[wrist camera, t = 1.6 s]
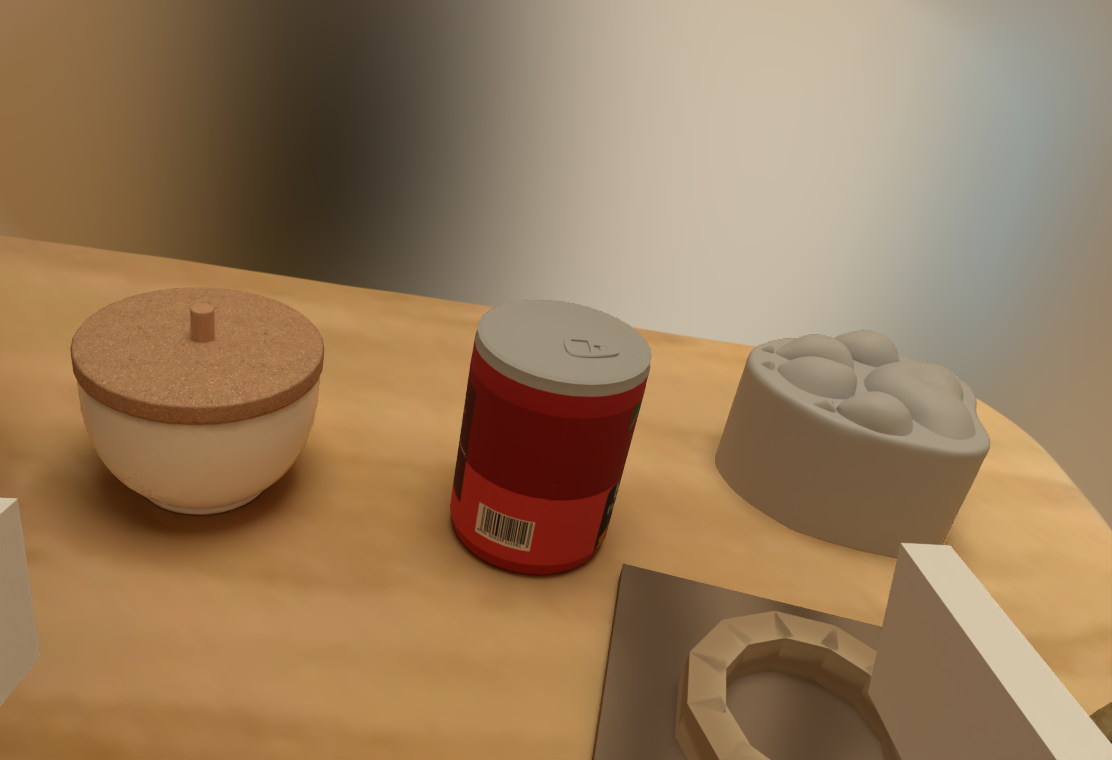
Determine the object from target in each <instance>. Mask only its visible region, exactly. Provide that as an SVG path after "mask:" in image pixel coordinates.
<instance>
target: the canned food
mask: <svg viewBox="0 0 1112 760" xmlns="http://www.w3.org/2000/svg"><path fill="white" fill-rule="evenodd" d="M651 357H652V356H651V349H650V347H649V345H648V343H647V341H646V340H645V339H644V338H643V337H642V336H641V335H640V333H639V332H637V331H636V330H635V329H633V328H632V327H631V326H630V325H628V324H626V323H624V322H623V321H621V320H619V319H618V318H615V317H613V316H611V315H609V314H607V313H604V312H602V311H599V310H595V309H593V308H590V307H586V306H582V305H578V304H574V303H567V302H562V301H552V300H525V301H516V302H511V303H507V304H503V305H500V306H498V307H495V308H493V309H491V310H490V311H488V312H487V313H486V314H484V315H483V317H482V318H481V320H480V321H479V325H478V329H477V331H476V335H475V340H474V347H473V353H472V358H471V364H470V371H469V378H468V385H467V392H466V399H465V406H464V413H463V420H462V427H461V434H460V441H459V448H458V455H457V462H456V469H455V476H454V483H453V490H452V497H451V504H450V508H451V515H452V520H453V524H454V528H455V531H456V533H457V535H458V537H459V539H460V540H461V541H462V543H463V544H464V545H465V546H466V547H467V548H468V549H469V550H470V551H471V552H472V553H474V554H475V555H476V556H478V557H479V558H481V559H483V560H484V561H486V562H488V563H490V564H492V565H495V566H497V567H499V568H502V569H506V570H509V571H513V572H517V573H524V574H531V575H548V574H555V573H561V572H565V571H568V570H571V569H574V568H576V567H578V566H580V565H582V564H584V563H585V562H586V561H587V560H588V559H590V558H591V557H592V556H593V554H594V553H595V552H596V550H597V549H598V547H599V546H600V545H601V543H602V542H603V540H604V539H605V536H606V533H607V529H608V525H609V522H610V518H611V514H612V510H613V507H614V503H615V499H616V496H617V492H618V488H619V484H620V481H621V477H622V473H623V470H624V466H625V462H626V458H627V455H628V451H629V447H630V444H631V440H632V436H633V432H634V429H635V425H636V421H637V417H638V414H639V410H640V406H641V403H642V399H643V395H644V391H645V387H646V382H647V378H648V374H649V371H650V361H651Z"/></svg>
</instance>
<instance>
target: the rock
mask: <svg viewBox="0 0 1112 760" xmlns="http://www.w3.org/2000/svg"><path fill="white" fill-rule="evenodd" d="M1089 717H1090V718H1091V719H1092V721H1093V722H1094V723H1095V724H1096V725H1097V727H1098V728H1099V729H1100V730H1101V732H1102V733H1103V734H1104V735H1105V737H1106V738H1107V739H1108V740H1109V741H1112V702H1111V703H1109V704H1108V705H1106V706H1105V707H1103V708H1101V709H1099V710H1097V711H1096V712H1095V713H1093V714H1092V715H1091V716H1089Z"/></svg>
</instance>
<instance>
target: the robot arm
mask: <svg viewBox="0 0 1112 760" xmlns="http://www.w3.org/2000/svg"><path fill="white" fill-rule="evenodd" d="M39 658H40V650H39V643H38V636H37V629H36V622H35V615H34V608H33V601H32V594H31V587H30V580H29V573H28V566H27V560H26V553H25V546H24V539H23V532H22V525H21V518H20V511H19V504H18V499H16V498H0V707H1V705H2V704H3V703H4V702H5V700H6V699H7V698H8V697H9V695H10V694H11V693H12V692H13V690H14V689H15V688H16V687H17V685H18V684H19V683H20V682H21V680H22V679H23V678H24V677H25V675H26V674H27V673H28V672H29V670H30V669H31V668H32V667H33V665H34V664H35V663H36V661H37V660H38V659H39ZM868 694H869V696H870V698H871V700H872V702H873V704H874V705H875V707H876V709H877V711H878V713H879V715H880V717H881V719H882V721H883V723H884V725H885V727H886V729H887V731H888V733H889V735H890V737H891V739H892V741H893V743H894V745H895V747H896V749H897V751H898V753H899V755H900V757H901V759H902V760H1112V741H1109V740H1108V739H1107V738H1106V737H1105V735H1104V734H1103V733H1102V732H1101V730H1100V729H1099V728H1098V727H1097V725H1096V724H1095V723H1094V722H1093V721H1092V719H1091V718H1090V717H1089V716H1088V714H1087V713H1086V712H1085V711H1084V709H1083V708H1082V707H1081V706H1080V705H1079V703H1078V702H1077V701H1076V700H1075V698H1074V697H1073V696H1072V695H1071V693H1070V692H1069V691H1068V690H1067V689H1066V687H1065V686H1064V685H1063V684H1062V682H1061V681H1060V680H1059V679H1058V677H1057V676H1056V675H1055V674H1054V673H1053V671H1052V670H1051V669H1050V668H1049V666H1048V665H1047V664H1046V663H1045V661H1044V660H1043V659H1042V658H1041V657H1040V655H1039V654H1038V653H1037V652H1036V650H1035V649H1034V648H1033V647H1032V645H1031V644H1030V643H1029V642H1028V641H1027V639H1026V638H1025V637H1024V636H1023V634H1022V633H1021V632H1020V631H1019V629H1018V628H1017V627H1016V626H1015V625H1014V623H1013V622H1012V621H1011V620H1010V618H1009V617H1008V616H1007V615H1006V613H1005V612H1004V611H1003V610H1002V609H1001V607H1000V606H999V605H998V604H997V602H996V601H995V600H994V599H993V597H992V596H991V595H990V594H989V593H988V591H987V590H986V589H985V588H984V586H983V585H982V584H981V583H980V581H979V580H978V579H977V578H976V577H975V575H974V574H973V573H972V572H971V570H970V569H969V568H968V567H967V565H966V564H965V563H964V562H963V561H962V559H961V558H960V557H959V556H958V554H957V553H956V552H955V551H954V549H953V548H952V547H951V546H950V545H932V544H912V543H901V544H900V549H899V553H898V558H897V562H896V567H895V572H894V576H893V581H892V585H891V590H890V594H889V599H888V603H887V608H886V612H885V617H884V621H883V626H882V631H881V635H880V640H879V644H878V649H877V653H876V658H875V662H874V667H873V671H872V676H871V680H870V685H869V690H868Z"/></svg>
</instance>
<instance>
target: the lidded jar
mask: <svg viewBox="0 0 1112 760" xmlns="http://www.w3.org/2000/svg"><path fill="white" fill-rule="evenodd" d="M71 358H72V365H73V372H74V375H75V377H76V379H77V386H78V393H79V400H80V406H81V412H82V416H83V419H84V423H85V426H86V430H87V432H88V434H89V437H90V439H91V441H92V444H93V446H94V448H95V450H96V452H97V454H98V455H99V457H100V458H101V460H102V461H103V463H104V464H105V465H106V467H107V468H108V469H109V470H110V471H111V473H112V474H113V475H114V476H115V477H117V478H118V479H119V480H120V481H121V482H122V483H124V484H125V485H126V486H127V487H129V488H130V489H132V490H134V491H135V492H137V493H139V494H141V495H143V496H145V497H146V498H147V499H148V500H150V501H151V502H152V503H153V504H155V505H157V506H159V507H161V508H163V509H166V510H169V511H172V512H176V513H181V514H189V515H209V514H217V513H223V512H226V511H230V510H233V509H236V508H239V507H241V506H243V505H245V504H247V503H249V502H251V501H252V500H254V499H255V498H257V497H258V496H259V495H260V494H261V493H262V492H263V490H265V489H266V488H268V487H269V486H271V485H272V484H273V483H275V482H276V481H278V480H279V479H280V478H281V477H282V476H283V475H284V474H285V473H286V472H287V471H288V470H289V468H290V467H291V466H292V465H293V464H294V462H295V461H296V459H297V458H298V457H299V455H300V453H301V451H302V450H303V448H304V446H305V444H306V442H307V439H308V437H309V434H310V431H311V428H312V425H313V422H314V418H315V413H316V409H317V402H318V393H319V384H320V374H321V372H322V368H323V359H324V344H323V340H322V337H321V335H320V333H319V331H318V330H317V328H316V327H315V326H314V325H313V324H312V323H311V322H310V320H309V319H307V318H306V317H305V316H304V315H302V314H301V313H300V312H298V311H296V310H295V309H293V308H291V307H289V306H287V305H285V304H283V303H281V302H278V301H276V300H273V299H270V298H267V297H264V296H261V295H256V294H252V293H248V292H243V291H237V290H230V289H220V288H174V289H166V290H159V291H153V292H148V293H143V294H139V295H135V296H132V297H129V298H125V299H123V300H120V301H117V302H115V303H112V304H110V305H108V306H106V307H104V308H103V309H101V310H99V311H97V312H96V313H95V314H93V315H92V316H90V317H89V318H88V319H87V320H86V321H85V322H84V323H83V324H82V325H81V326H80V328H79V329H78V330H77V332H76V334H75V335H74V337H73V339H72V344H71Z"/></svg>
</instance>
